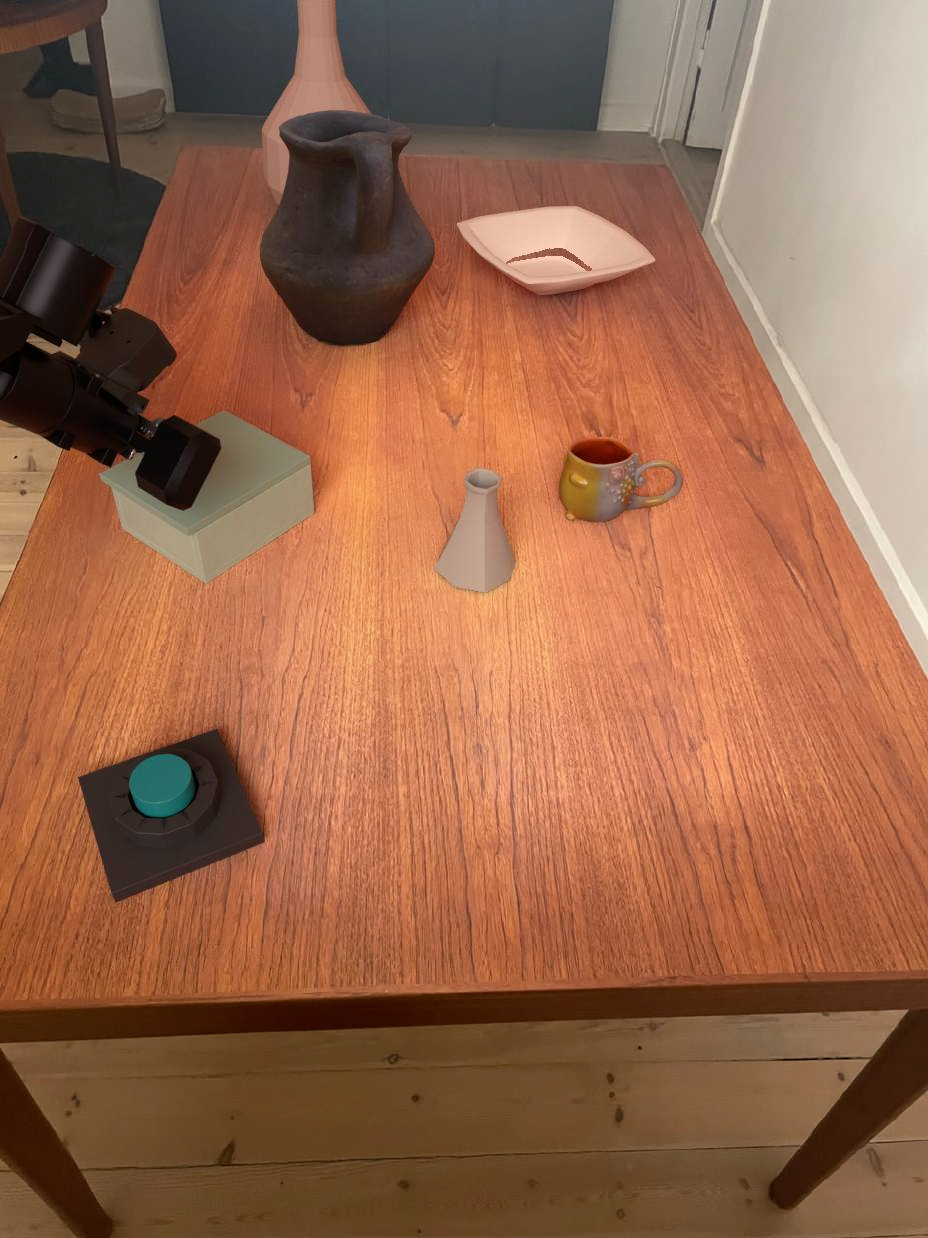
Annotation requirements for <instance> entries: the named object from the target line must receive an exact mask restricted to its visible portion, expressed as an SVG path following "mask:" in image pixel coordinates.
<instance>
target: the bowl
mask: <svg viewBox="0 0 928 1238" xmlns="http://www.w3.org/2000/svg"><path fill="white" fill-rule="evenodd" d="M456 227H457V229H458V231H459V232H460V235H461V236H462V238H463V240H465V241H466V242H467V244H469V246H471V247H472V249H473V250H474V251H475V252H476V253H477V254H478V255H479V256H480V257H482V259H484V260H485V261H486V262H488V263H489V264H490V265H491V266H493V267H494V269H496V270H497V271H499V272H500V273H502V274H503V275H505V276H506V277H507V278H509V279H510V280H512V281H513V282H514V283H515V284H518V285H519V286H522V287H524V288H525V289H526V290H529V291H530V292H531V293H534V294H535V295H537V296H546V295H547V296H548V295H557V294H563V293H569V292H574V291H579V290H584V289H587V288H589V287H592V286H594V285H596V284H599V283H603V282H609V281H612V280H614V279H617V278H620V277H623V276H625V275H627V274H630V273H633V272H634V271H636V270H639V269H641V268H643V267H646V266H648V265H650V264H653V263H655V262H656V258H655V257H654V256H653V255H652V254H651V252H650V251H649V250H648V249H647V247H646V246H645V245H644V244H642V243H640V241H639V240H637V239H636V238H635V237H633V236H632V235H631V234H629V233H628V232H627V231H626V230H625V229H623V228H621V227H619V226H618V225H617V224H615V223H613V222H611V221H609V220H608V219H606V218H604V217H602V216H601V215H598V214H596V213H595V212H592V211H589V210H587V209H585V208H582V207H580V206H577V205H559V206H558V205H554V206H553V205H552V206H543V207H534V208H527V209H520V210H513V211H505V212H499V213H494V214H486V215H479V216H476V217H472V218H469V219H465V220H462V221H459V222H457V223H456ZM549 248H550V249H554V248H563V249H566V250H567V251H569V252H570V253H572V254H574V255H575V256H576V257H578V259H580V260H581V261H583V262H584V264H586V265H587V266H590V268H592V270H591V271H586V270H585V269H584V268H582V267H581V266H579V265H578V264H576V263H575V262H573V261H571V260H569V259H567V258H565V257H563V256H545V257H538V258H532V259H526V260H520V261H514V262H511V263H508V264H506V262H507V261H509V260H511V259H512V258H514V257H519V256H522V255H527V254H530V253H534V252H539V251H542V250H545V249H549ZM595 283H596V284H595ZM593 284H594V285H593ZM590 285H591V286H590ZM587 286H588V287H587ZM581 287H584V288H581ZM577 288H579V289H577ZM572 289H574V290H572ZM567 290H568V291H567ZM561 291H563V292H561ZM556 292H557V293H556Z"/></svg>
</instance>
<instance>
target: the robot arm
mask: <svg viewBox="0 0 928 1238" xmlns="http://www.w3.org/2000/svg"><path fill="white" fill-rule="evenodd" d="M116 272H117V268H115V267H114V266H113V265H111V263H109V262H108V261H106V260H105V259H103V258H102V257H100V256H99V255H97V254H95V252H92V251H90V250H88V249H86V248H84V247H82V246H80V245H77V244H76V243H74V242H71V241H69V240H67V239H65V238H63V237H62V236H59V235H57V234H55V233H53V232H52V231H50V230H48V229H47V228H45V227H44V226H42V225H41V224H39V223H37V222H35V221H33V220H31V219H29V218H27V217H25V216H23V215H20V216H17V217H16V220H15V221H14V224H13V225H12V227H11V230H10V233H9V236H8V240H7V244H6V247H5V248H4V251H3V252H2V256H1V257H0V421H2V422H5V423H6V424H9V425H12V426H15V427H17V428H20V429H22V430H25V431H26V432H27V431H28V432H30V433H32V434H35V435H38V436H40V437H41V438H43V439H44V440H46V441H48V442H50V443H51V444H53V445H54V446H55V447H57V448H59V449H63V450H64V451H66V452H67V451H68V452H70V451H71V449H72V450H76V451H79V452H80V453H84V454H85V455H86V456H88V457H90V458H91V459H93V460H95V461H96V462H97V463H99V464H101V465H103V466H106V467H109V468H111V467H113V464H114V463H115V460H116V458H117V457H118V455H119V456H121V457H122V458H124V459H125V460H127V459H128V460H132V459H133V457H134V456H135V455H137V454H139V453H141V455H142V456H143V458H142V460H141V462H140V464H139V466H138V468H137V470H136V472H135V476H136V480H137V484H138V487H139V488H140V489H142V490H144V491H145V492H147V493H148V494H150V495H152V496H153V497H155V498H156V499H158V500H160V501H161V502H163V503H164V504H166V505H168V506H171V507H174V508H176V509H179V510H182V511H184V510H187V509H189V508H191V507H192V505H193V503H194V501H195V499H196V497H197V495H198V493H199V492H200V490H201V488H202V486H203V484H204V482H205V480H206V478H207V476H208V474H209V473H210V471H211V469H212V466H213V464H214V462H215V460H216V458H217V456H218V454H219V452H220V450H221V443H220V439H219V438H217V437H215V436H213V435H211V434H210V433H208V432H206V431H204V430H203V429H201V428H199V427H197V426H195V425H196V424H194V423H191V422H189V421H188V420H186V419H184V418H182V417H180V416H178V415H176V414H173V415H171V416H170V417H167V418H165V417H162V416H157V417H155V418H154V419H153V420H150V419H149V418H147V417H145V416H143V414H144V413H145V410H146V409H147V406H148V405H149V403H150V400H151V399H149V398H147V397H146V396H144V395H142V394H140V392H143V391H145V390H146V389H147V388H148V387H150V385H151V384H152V383H153V382H154V381H155V380H156V379H157V378H158V377H159V375H160V374H162V372H163V371H164V370H166V368H167V367H170V366H172V364H174V363H175V361H176V360H177V356H178V353H177V350H176V349H175V347H174V346H173V344H172V343H171V342H170V341H169V339H168V338H167V336H166V335H165V334H164V332H163V331H162V329H161V328H160V327H159V325H158V324H157V322H156V321H154V320H152V319H150V318H149V317H147V316H144V315H142V314H141V313H138V312H137V311H135V310H133V309H130V308H128V307H124V308H119V307H117V306H114V305H111V307H109V309H108V310H109V311H110V312H111V313H108V312H105V311H103V310H101V309H99V306H100V304H101V302H102V300H103V297H104V296H105V295H106V292H107V290H108V288H109V286H110V283H111V282H112V279H113V277H114V276H115V273H116ZM31 334H33V335H34V336H36V337H38V338H40V339H42V340H43V341H46V342H48V343H50V344H51V345H54V346H55V347H58V348H61V347H62V344H63V342H66V343H68V344H70V345H72V346H74V347H76V348H77V347H78V346H79V353H78V354H77V355H76V357H73V356H71V355H69V354H67V353H65V352H64V351H61V350H57V351H55V352H53V353H51V352H49V351H47V350H45V349H43V348H40V347H39V346H37V345H34V344H33V343H31V342H28V339H29V337H30V335H31ZM145 433H146V434H148V435H150V437H149V438H148V437H146V436H145ZM153 433H154V434H153Z"/></svg>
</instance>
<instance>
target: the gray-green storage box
mask: <svg viewBox="0 0 928 1238" xmlns="http://www.w3.org/2000/svg"><path fill="white" fill-rule="evenodd" d="M110 488H111V491H112V496H113V499H114V503H115V508H116V510H117V515H118V518H119V522H120V526H121V529H122V530H123V531H124V532H126V533H128V534H129V535H131V537H134V538H135V539H137V540H139V541H140V542H141V543H143V544H144V545H145V546H147V547H148V548H150V549H152V550H154V551H155V552H157V553H158V554H159V555H161V556H162V557H164V558H166V559H167V560H169V561H170V562H171V563H173V564H175V565H176V566H178V567H179V568H180V569H182V570H183V571H185V572H187V573H188V574H190V575H191V576H192V577H194V578H196V579H197V580H198V581H200V582H202V583H203V584H205V585H207V584H209V583H210V582H211V581H213V580H214V579H216V578H217V577H219V576H220V575H223V573H226V572H227V571H228V570H230V569H231V568H233V567H234V566H236V565H238V564H240V563H241V562H242V561H244V560H245V559H247V558H248V557H249V556H251V555H253V554H254V553H256V552H257V551H259V550H261V549H262V548H264V547H265V546H266V545H268V544H269V543H271V542H272V541H274V540H276V539H278V538H279V537H280V536H282V535H283V534H285V533H287V532H288V531H290V530H291V529H293V528H294V527H295V526H297V525H299V524H300V523H301V522H303V521H304V520H306V519H308V518H309V517H311V516H312V515H314V514H315V504H314V503H315V502H314V489H313V476H312V464H311V463H310V464H308V465H307V466H305V467H303V468H301V469H300V470H298V471H296V472H295V473H293V474H291V475H290V476H288V477H286V478H285V479H283V480H281V481H280V482H278V483H276V484H275V485H273V486H271V487H270V488H268V489H266V490H265V491H263V492H261V493H260V494H258V495H256V496H255V497H253V498H251V499H250V500H248V501H246V502H245V503H243V504H241V505H240V506H238V507H236V508H235V509H233V510H231V511H230V512H228V513H226V514H224V515H223V516H221V517H219V518H218V519H216V520H214V521H213V522H211V523H209V524H208V525H206V526H204V527H203V528H201V529H199V530H198V531H196V532H194V533H193V534H191V535H189V536H187V535H186V534H184V533H182V532H181V531H179V530H178V529H176V528H175V527H173V526H171V525H170V524H168V523H167V522H165V521H164V520H162V519H160V518H159V517H157V516H156V515H154V514H153V513H151V512H149V511H148V510H146V509H145V508H143V507H141V506H140V505H138V504H137V503H135V502H134V501H132V500H130V499H129V498H127V497H126V496H124V495H123V494H121V493H119V492H118V491H116V490H115V489H113V488H112V487H110Z"/></svg>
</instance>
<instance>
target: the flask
mask: <svg viewBox="0 0 928 1238" xmlns="http://www.w3.org/2000/svg"><path fill="white" fill-rule="evenodd" d="M502 480H503V476H501V475H500V474H499V473H497V472H496V471H494V470H493V469H490V468H485V467H475V468H473V469H470V470H469V471H466V473H465V475H464V478H463V481H462V483H463V486H464V487H465V499H464V503H463V506H462V510H461V512H460V515H459V517H458V519H457V521H456V523H455V525H454V527H453V530H452V532H451V533H450V535H449V537H448V539H447V540H446V542H445V544H444V546H443V548H442V549H441V553H440V555H439V557H438V560H437V562H436V564H435V567H434V571H436V572H437V573H439V575H440V576H442V577H443V578H444V579H445V580H446V581H447V582H449V583H450V584H451V585H452V586H453V587H456V588H460V589H464V590H470V591H475V592H479V593H484V594H486V593H489V592H490V591H491V590H493V589H495V588H497V587H499V586H502V585H503V584H505V583H507V582H509V581H510V579H511V576H512V572H513V570H514V567H515V565H516V558H515V554H514V552H513V549H512V547H511V544H510V541H509V539H508V536H507V533H506V531H505V527H504V525H503V521H502V518H501V515H500V511H499V502H498V491H499V489H500V486H501V484H502V482H503V481H502Z"/></svg>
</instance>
